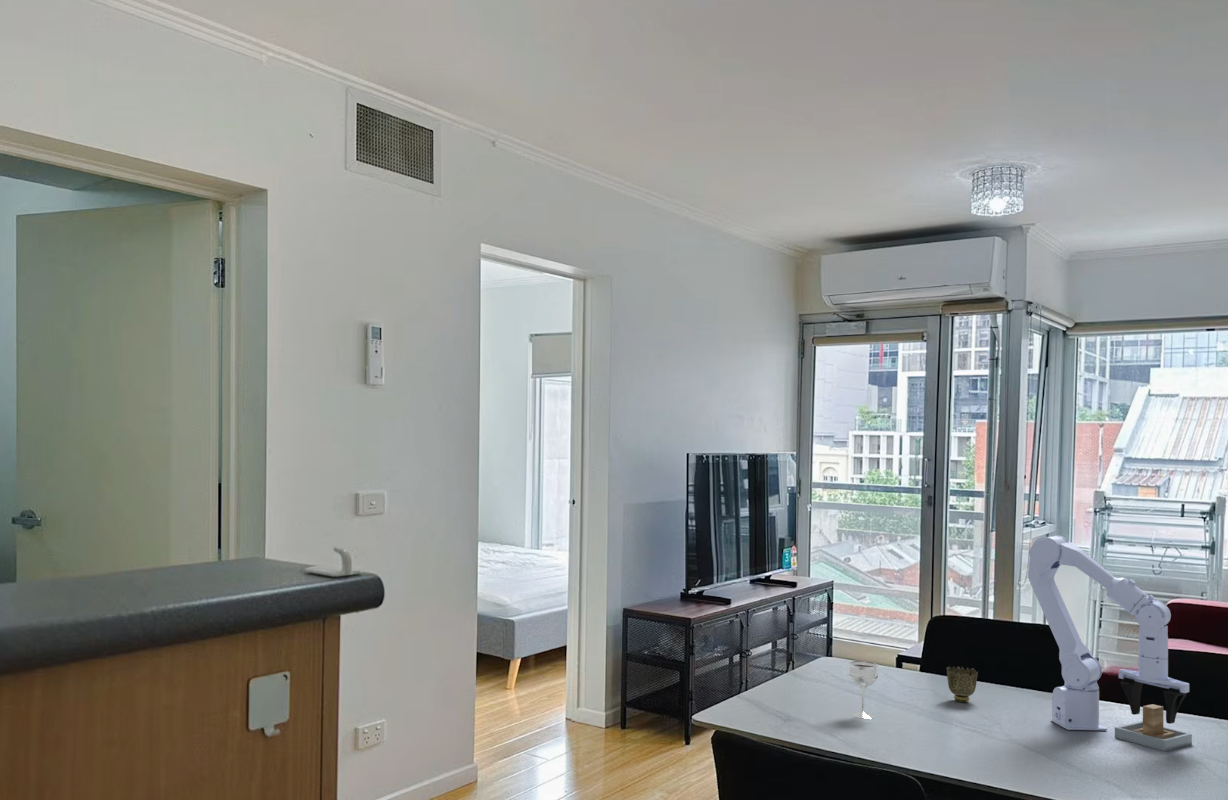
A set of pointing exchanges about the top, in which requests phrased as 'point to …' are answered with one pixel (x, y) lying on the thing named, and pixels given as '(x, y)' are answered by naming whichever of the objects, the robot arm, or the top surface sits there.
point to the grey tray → (1153, 737)
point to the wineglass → (863, 680)
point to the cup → (961, 682)
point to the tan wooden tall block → (1153, 719)
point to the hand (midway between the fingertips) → (1152, 718)
